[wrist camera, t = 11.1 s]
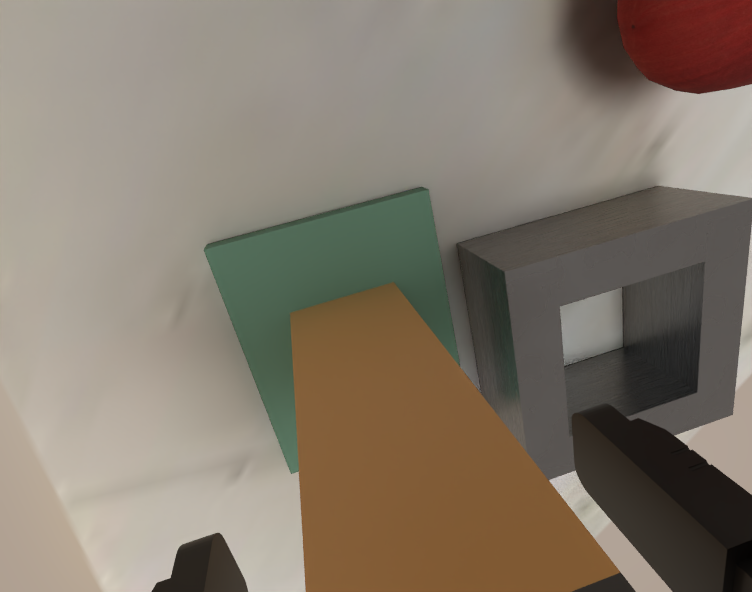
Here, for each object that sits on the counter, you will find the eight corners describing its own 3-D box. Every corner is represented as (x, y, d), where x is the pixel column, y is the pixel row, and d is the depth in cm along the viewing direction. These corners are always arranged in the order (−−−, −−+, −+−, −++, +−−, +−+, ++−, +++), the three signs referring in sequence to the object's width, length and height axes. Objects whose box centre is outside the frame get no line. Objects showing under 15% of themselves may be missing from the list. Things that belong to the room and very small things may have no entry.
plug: (290, 312, 16) (318, 815, 4) (393, 281, 17) (688, 658, 5) (319, 401, 18) (404, 958, 6) (414, 371, 18) (678, 831, 6)
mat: (207, 244, 16) (203, 249, 15) (421, 186, 16) (428, 189, 16) (290, 461, 19) (291, 474, 19) (461, 404, 20) (468, 415, 19)
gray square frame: (457, 243, 17) (504, 272, 14) (659, 185, 18) (754, 198, 15) (486, 424, 21) (530, 486, 17) (656, 367, 22) (732, 414, 18)
